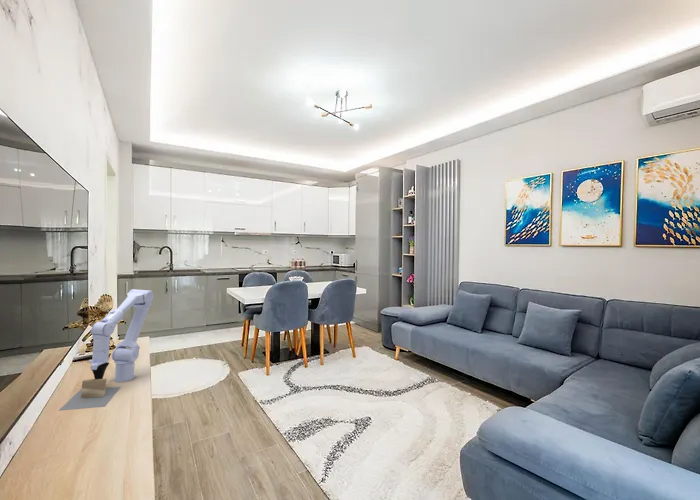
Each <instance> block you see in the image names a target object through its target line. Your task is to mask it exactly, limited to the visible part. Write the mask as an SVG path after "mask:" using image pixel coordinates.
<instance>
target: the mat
mask: <svg viewBox="0 0 700 500" xmlns="http://www.w3.org/2000/svg"><path fill="white" fill-rule="evenodd" d="M120 389H121V386H111V387H106V393H105V396H104V397H90V398H81V392H82V388H81V389H80V390H78V391H77V392H76V393H75V394H74V395H73V396H72V397H71V398H70V399H68V401H67V402H66V403H65V404H63V406H61V407H60V408H59V409H58V411H70V410H81V409H94V408H105V407H107V405H108V403H110V401H111V400H112V399H113V397H114V396H115V395H116V394H117V392H118V391H119V390H120Z"/></svg>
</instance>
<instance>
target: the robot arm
mask: <svg viewBox="0 0 700 500" xmlns="http://www.w3.org/2000/svg"><path fill="white" fill-rule="evenodd" d="M154 298H155V296H154V293H153V291H152V289H151V290H150V289H149V290H147V289H146V290H145V289H135V288H132V289H130V290H129V292H127V294H126V298H125V299H124V300H123V302H121V304H120V305H119V306H118V307H117V308H116V309H112V310H110V311H109V313H108V314H106V315H105V317H103V318H102V319H101V320H100V321H96V322H95V323H94V324H93V325H92V326H91V329H90V333H91V336H92V340H93V344H92V345H93V346H92V356H91V357H92V359H89V360H88V363H91V365H90V371H92V373H93V377H94V379H104V375H105V372H106V370H107V368H108V367H109V365H110V363H109V361H110V358H109V356H110V343H111V342H110V341H111V335H113V334H114V332H115V328H116V326H117V325H118V324H119V323H120V321H122V320H123V318H124V314H125V313H126V312H127V311H128V310H129V309H131V308H132V307H134V308H135V311H134V314H133V316H132V318H131V321H130V324H129V326H128V329H127V332H126V333H125V337H124V339H123V340H122V341H121V342H119V343H118V344H117V345H116V347H115V348H114V350H113V351H112V354H111V359H112V361H114V364H115V368H114V369H115V370H114V380H113V381H114V382H116V383H124V382H125V383H126V382H129V381H132V379H133V378H136V376H137V374H135V365H136V364H135V362H136V361H137V359H138V358H139V355H140V353H139V352H140V349H141V347H140V345H139V344H138V343H137V341H138V339H139V336H140V333H141V331H142V327H143V325H144V323H145V321H146V317H147V316H148V315H147V314H148V313H149V308H151V306H152V303H153V300H154Z"/></svg>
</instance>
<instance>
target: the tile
mask: <svg viewBox="0 0 700 500" xmlns="http://www.w3.org/2000/svg"><path fill="white" fill-rule="evenodd" d="M106 388H107V378H103V379H95V378H94V379H93V378H92V379H83V380H82V381H81V389H82V392H81V398H90V397H104V396H105V393H106Z"/></svg>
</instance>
